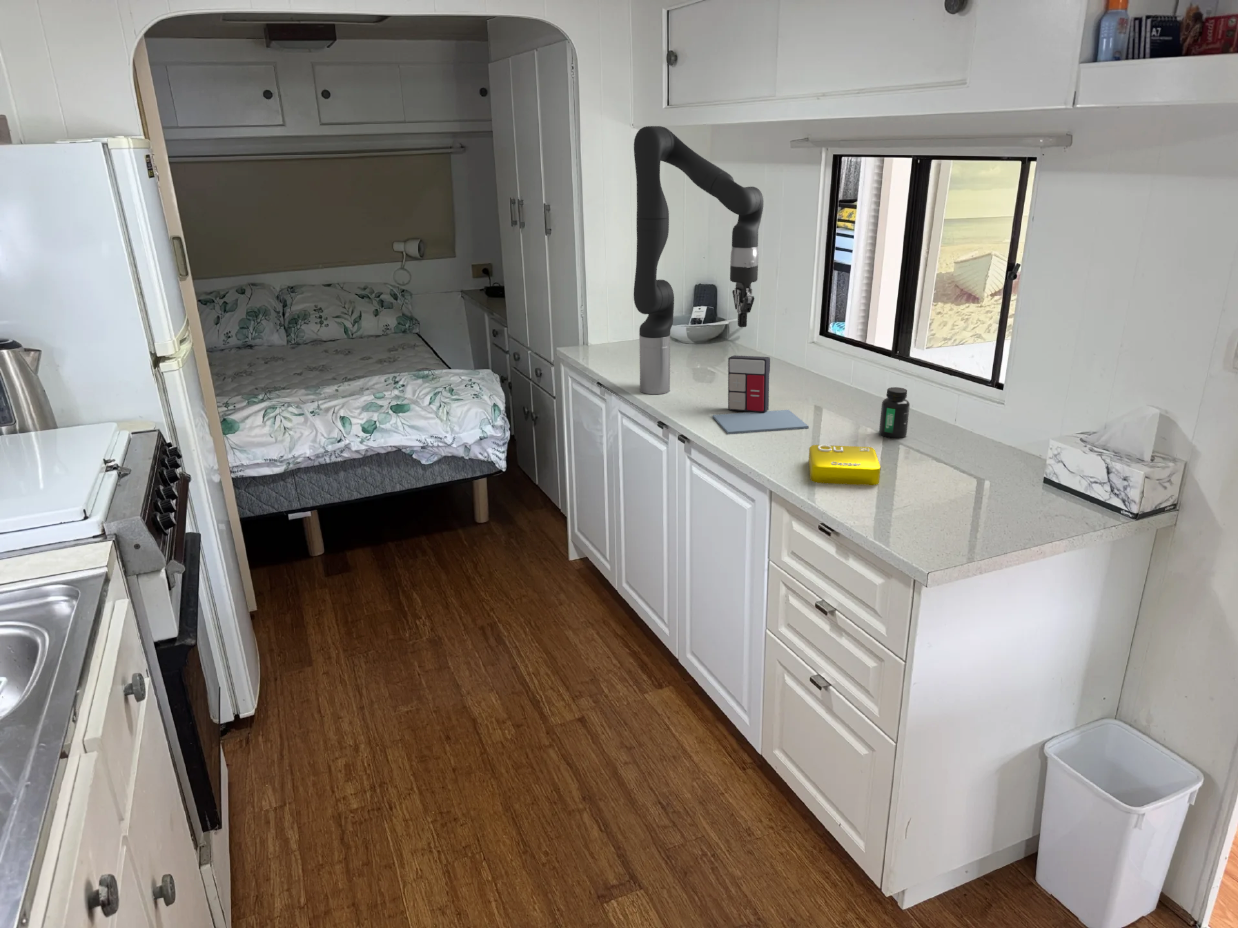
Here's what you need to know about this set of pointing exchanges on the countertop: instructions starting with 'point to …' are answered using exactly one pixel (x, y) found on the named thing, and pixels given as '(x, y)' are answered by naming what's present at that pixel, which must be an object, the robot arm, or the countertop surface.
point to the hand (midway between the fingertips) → (742, 326)
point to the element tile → (844, 465)
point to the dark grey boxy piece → (748, 383)
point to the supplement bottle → (894, 414)
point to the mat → (759, 421)
